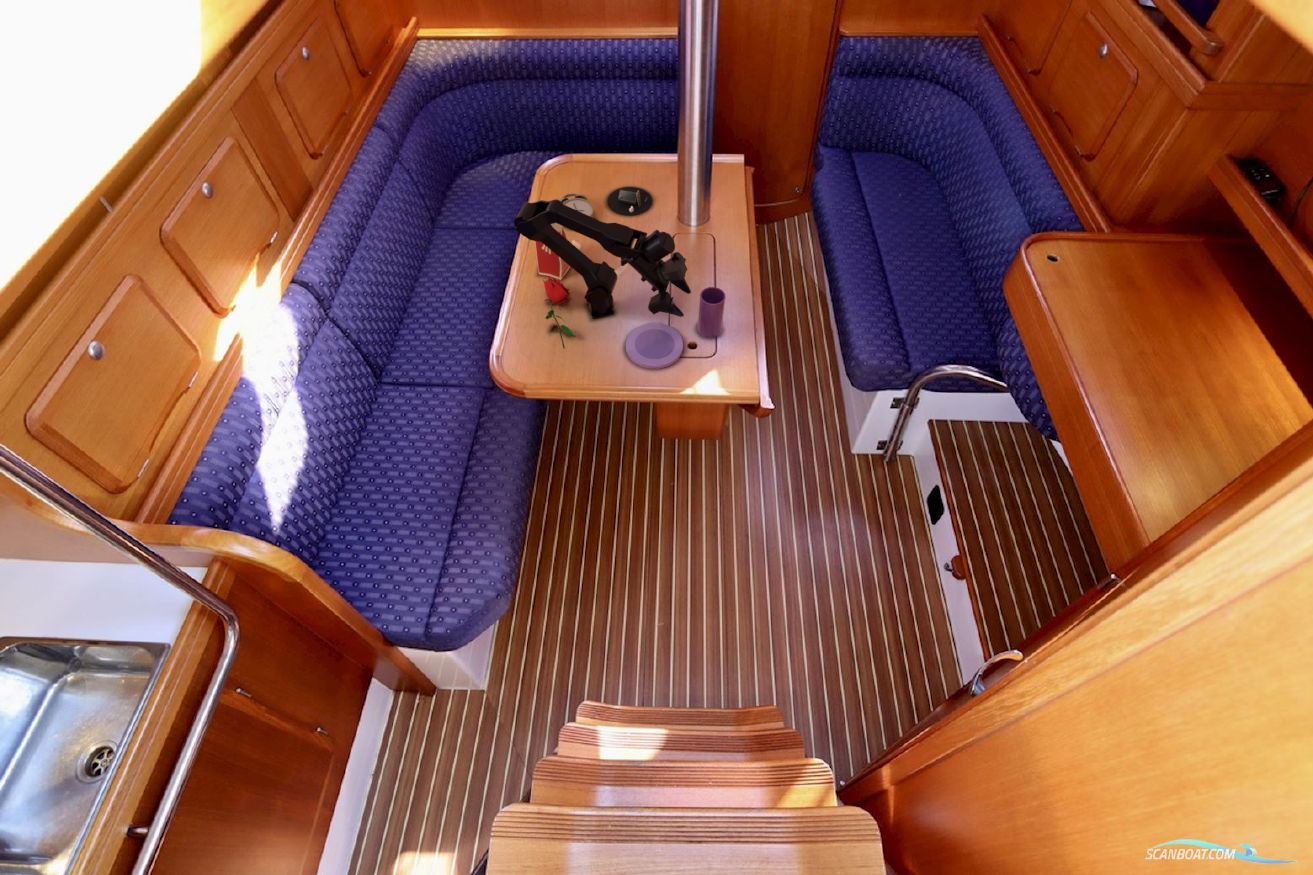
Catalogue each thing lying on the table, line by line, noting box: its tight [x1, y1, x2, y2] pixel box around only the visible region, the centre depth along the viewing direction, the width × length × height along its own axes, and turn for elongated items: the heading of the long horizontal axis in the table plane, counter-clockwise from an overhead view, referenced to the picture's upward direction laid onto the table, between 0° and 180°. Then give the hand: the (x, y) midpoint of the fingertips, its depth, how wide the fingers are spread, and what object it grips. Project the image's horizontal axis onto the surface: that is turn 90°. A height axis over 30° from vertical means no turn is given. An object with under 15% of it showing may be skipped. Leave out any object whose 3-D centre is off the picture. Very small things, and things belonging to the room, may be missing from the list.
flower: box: [542, 276, 576, 350], centre depth 183 cm, size 9×10×30 cm
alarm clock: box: [558, 193, 595, 218], centre depth 212 cm, size 11×5×15 cm
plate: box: [625, 322, 684, 370], centre depth 181 cm, size 16×16×1 cm
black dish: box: [606, 186, 653, 217], centre depth 215 cm, size 15×15×6 cm
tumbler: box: [697, 286, 726, 339], centre depth 180 cm, size 7×7×13 cm
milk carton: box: [534, 223, 572, 281], centre depth 191 cm, size 9×9×20 cm
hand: (686, 304), depth 179 cm, fingers open, 9 cm apart
